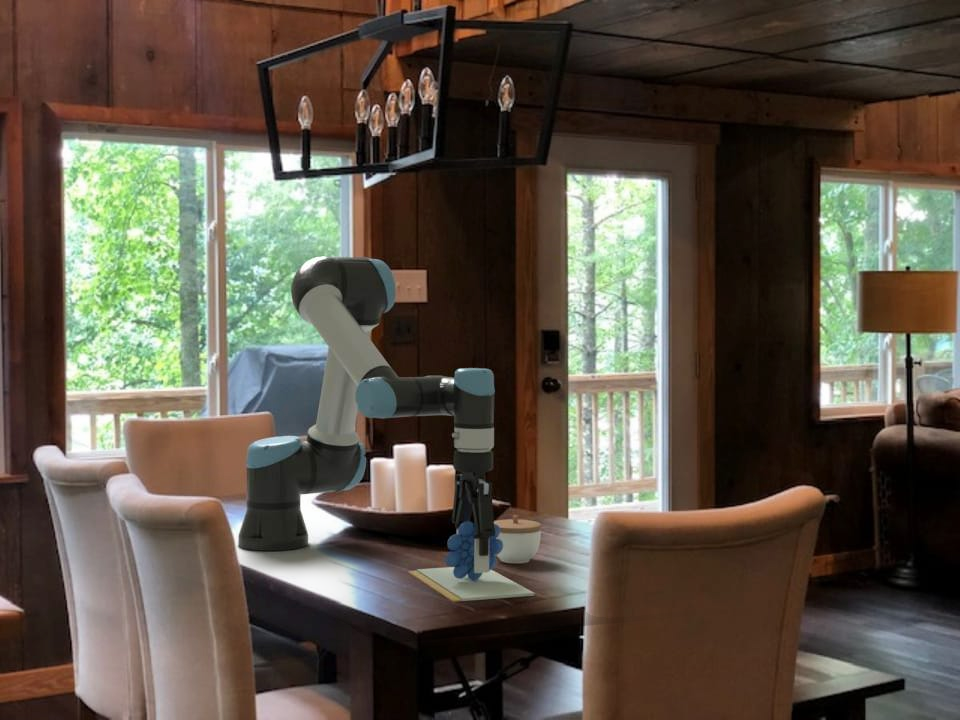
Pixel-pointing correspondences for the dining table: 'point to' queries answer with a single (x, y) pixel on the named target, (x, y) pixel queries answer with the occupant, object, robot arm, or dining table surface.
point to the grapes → (469, 551)
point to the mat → (475, 585)
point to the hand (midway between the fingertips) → (472, 567)
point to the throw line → (435, 586)
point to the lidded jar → (518, 539)
